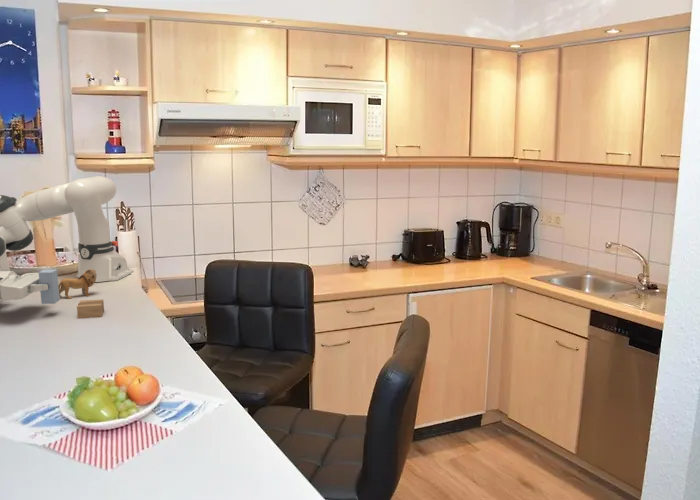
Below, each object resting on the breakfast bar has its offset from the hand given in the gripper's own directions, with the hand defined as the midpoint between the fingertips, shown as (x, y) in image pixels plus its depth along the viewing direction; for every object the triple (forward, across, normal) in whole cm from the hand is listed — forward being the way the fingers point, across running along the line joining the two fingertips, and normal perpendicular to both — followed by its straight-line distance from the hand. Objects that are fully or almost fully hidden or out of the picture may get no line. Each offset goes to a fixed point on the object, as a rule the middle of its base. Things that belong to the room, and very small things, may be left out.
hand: (52, 284), depth 205 cm
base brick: (+11, 0, -10) cm, 15 cm away
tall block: (-1, 0, -6) cm, 6 cm away
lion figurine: (-1, -22, -10) cm, 24 cm away
